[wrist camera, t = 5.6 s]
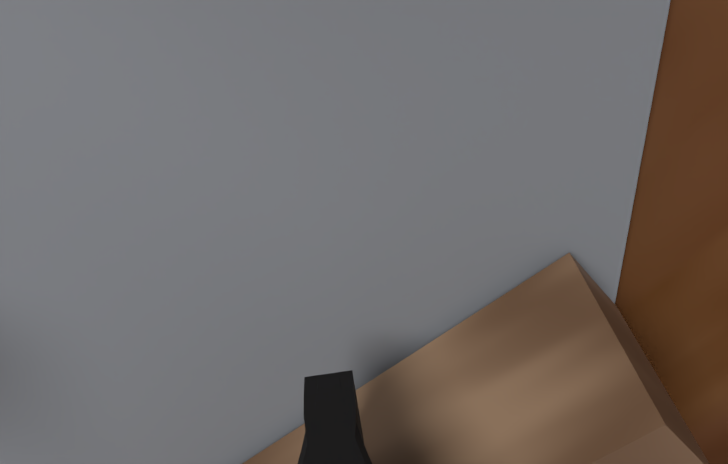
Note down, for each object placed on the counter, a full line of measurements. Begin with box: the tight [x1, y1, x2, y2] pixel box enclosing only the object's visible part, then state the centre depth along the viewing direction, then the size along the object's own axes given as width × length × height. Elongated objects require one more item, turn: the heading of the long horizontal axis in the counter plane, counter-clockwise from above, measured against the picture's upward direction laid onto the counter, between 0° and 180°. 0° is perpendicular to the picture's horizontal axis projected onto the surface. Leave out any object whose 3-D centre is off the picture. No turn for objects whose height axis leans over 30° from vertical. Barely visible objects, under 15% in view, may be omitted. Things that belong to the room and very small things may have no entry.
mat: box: [0, 0, 670, 464], centre depth 14 cm, size 20×18×1 cm
